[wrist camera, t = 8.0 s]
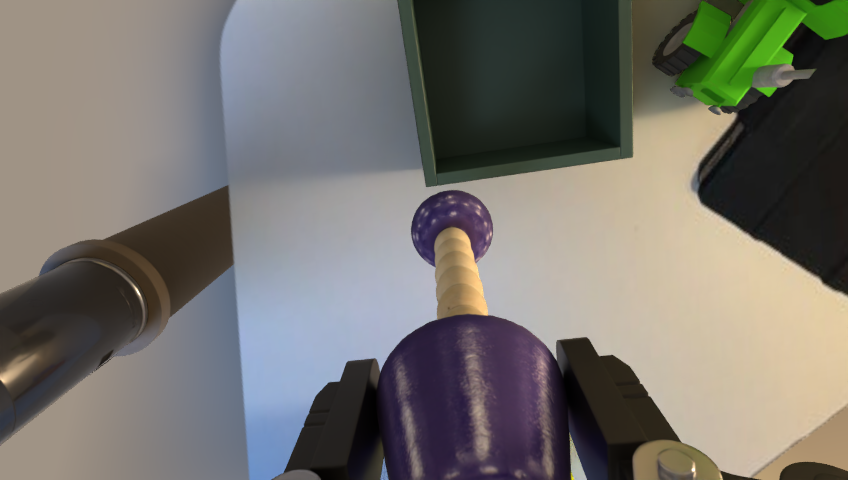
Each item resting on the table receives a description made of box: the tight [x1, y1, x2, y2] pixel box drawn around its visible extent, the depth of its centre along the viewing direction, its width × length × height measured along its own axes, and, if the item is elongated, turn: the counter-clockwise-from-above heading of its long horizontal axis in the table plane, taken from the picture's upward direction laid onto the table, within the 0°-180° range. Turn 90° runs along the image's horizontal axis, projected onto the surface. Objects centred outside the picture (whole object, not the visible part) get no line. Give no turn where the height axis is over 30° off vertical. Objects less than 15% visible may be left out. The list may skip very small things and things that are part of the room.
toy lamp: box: [376, 190, 571, 480], centre depth 15 cm, size 5×5×17 cm
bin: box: [397, 0, 633, 187], centre depth 31 cm, size 14×14×8 cm
